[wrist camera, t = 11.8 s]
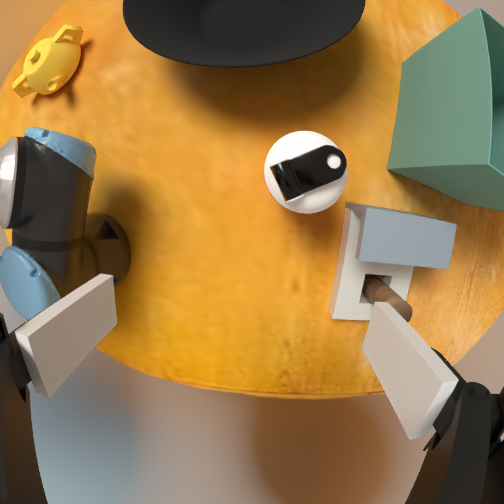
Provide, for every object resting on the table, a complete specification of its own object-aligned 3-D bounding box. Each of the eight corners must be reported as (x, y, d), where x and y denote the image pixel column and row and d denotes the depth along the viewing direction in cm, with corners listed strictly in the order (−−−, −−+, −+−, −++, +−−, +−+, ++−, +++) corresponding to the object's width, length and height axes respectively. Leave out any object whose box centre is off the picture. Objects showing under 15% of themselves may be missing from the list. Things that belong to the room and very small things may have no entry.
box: (465, 204, 44) (560, 225, 19) (386, 169, 44) (488, 164, 18) (476, 106, 39) (559, 88, 13) (402, 62, 38) (479, 6, 13)
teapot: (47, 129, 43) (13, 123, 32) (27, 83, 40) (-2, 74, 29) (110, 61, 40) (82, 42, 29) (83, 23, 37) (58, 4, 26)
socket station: (323, 310, 50) (339, 345, 38) (340, 201, 45) (366, 207, 33) (396, 313, 50) (425, 344, 38) (417, 214, 45) (457, 224, 33)
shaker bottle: (326, 185, 45) (371, 187, 25) (282, 213, 46) (296, 234, 27) (297, 140, 43) (323, 109, 24) (252, 168, 45) (245, 155, 25)
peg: (361, 272, 48) (392, 302, 34) (380, 273, 48) (415, 303, 34) (356, 292, 49) (385, 328, 35) (375, 293, 49) (407, 327, 35)
